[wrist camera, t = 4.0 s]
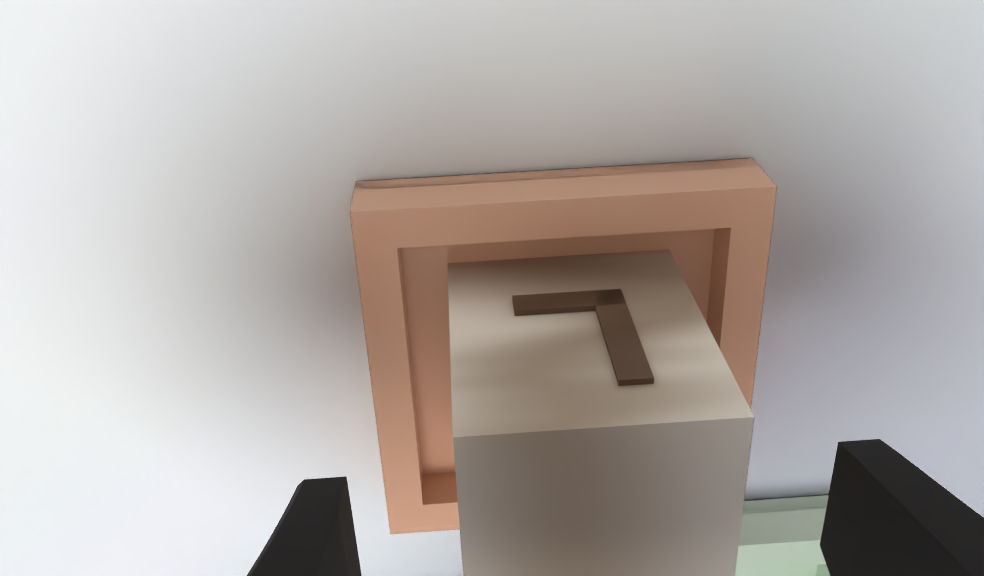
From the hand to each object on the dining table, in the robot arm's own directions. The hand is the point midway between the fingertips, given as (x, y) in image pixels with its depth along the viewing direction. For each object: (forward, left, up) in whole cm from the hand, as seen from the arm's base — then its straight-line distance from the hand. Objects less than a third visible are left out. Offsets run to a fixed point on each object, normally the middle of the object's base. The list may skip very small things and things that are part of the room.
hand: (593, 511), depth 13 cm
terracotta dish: (0, 0, -5) cm, 5 cm away
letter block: (0, 0, -5) cm, 5 cm away
